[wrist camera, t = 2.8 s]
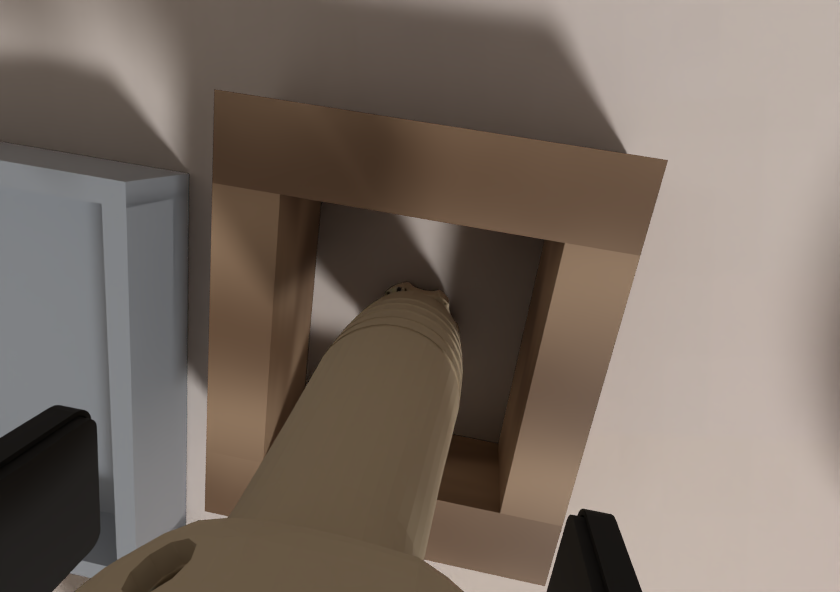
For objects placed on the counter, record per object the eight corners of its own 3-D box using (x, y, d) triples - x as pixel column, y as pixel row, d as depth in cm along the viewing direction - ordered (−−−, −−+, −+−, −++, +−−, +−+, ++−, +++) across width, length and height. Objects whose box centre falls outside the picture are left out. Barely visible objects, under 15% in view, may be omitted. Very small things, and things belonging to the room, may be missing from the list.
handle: (314, 286, 20) (-141, 682, 5) (477, 232, 18) (433, 576, 4) (361, 396, 21) (84, 961, 7) (517, 354, 19) (592, 952, 5)
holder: (272, 98, 18) (214, 89, 14) (628, 154, 17) (667, 160, 13) (253, 446, 22) (204, 510, 18) (534, 505, 21) (544, 586, 18)
